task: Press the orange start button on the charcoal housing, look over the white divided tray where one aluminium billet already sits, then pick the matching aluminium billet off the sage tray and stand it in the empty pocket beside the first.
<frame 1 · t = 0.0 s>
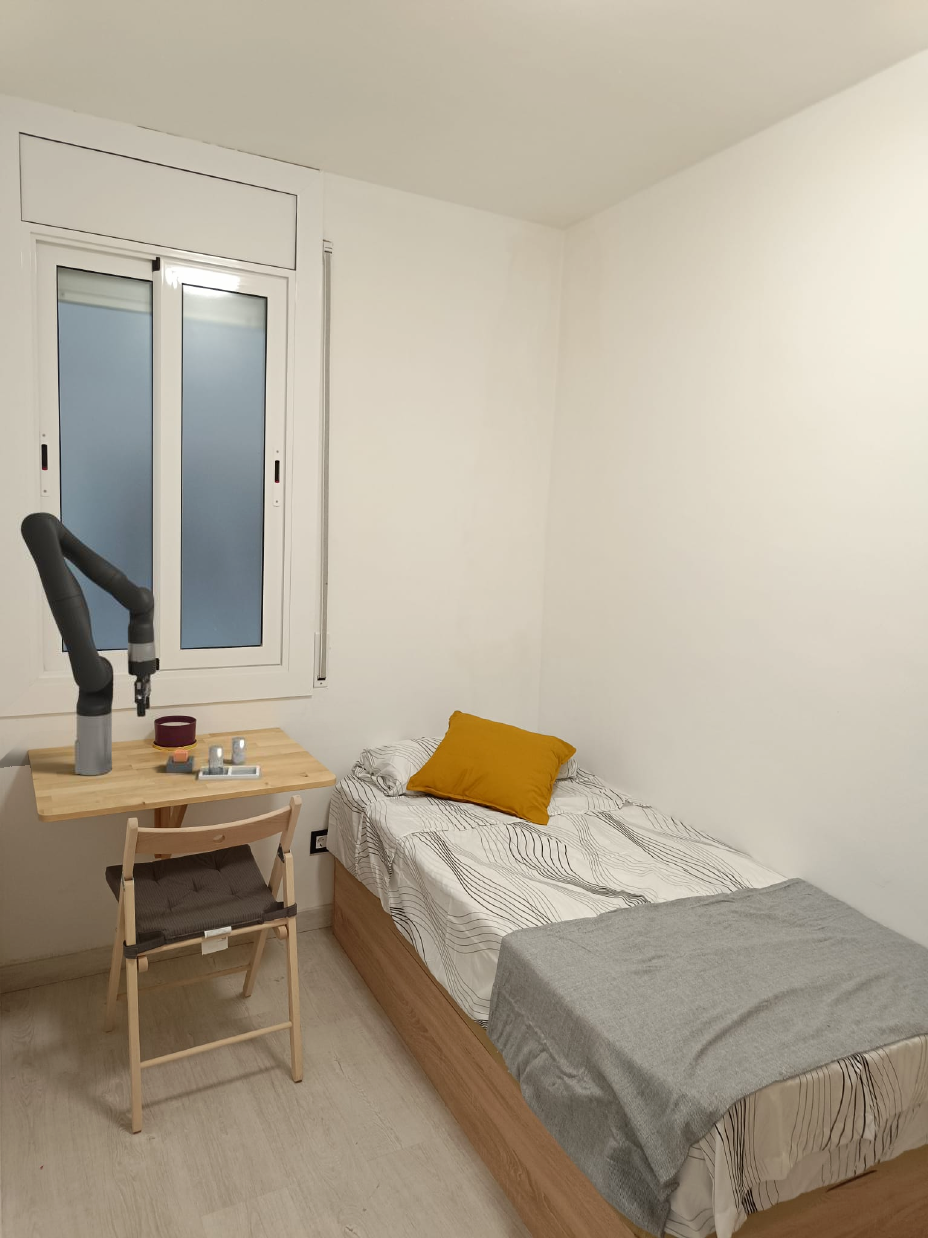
hand: (143, 712, 242), 17 cm above the table, fingers open, 8 cm apart
button housing: (180, 773, 243), on the table
white divided tray: (229, 778, 240), on the table
billet: (238, 764, 251), point 1 cm above the table, touching supply tray
start button: (180, 755, 242), point 5 cm above the table, slide at 0.0 cm
loaded billet: (215, 774, 239), point 1 cm above the table, touching white divided tray
supply tray: (238, 766, 251), on the table
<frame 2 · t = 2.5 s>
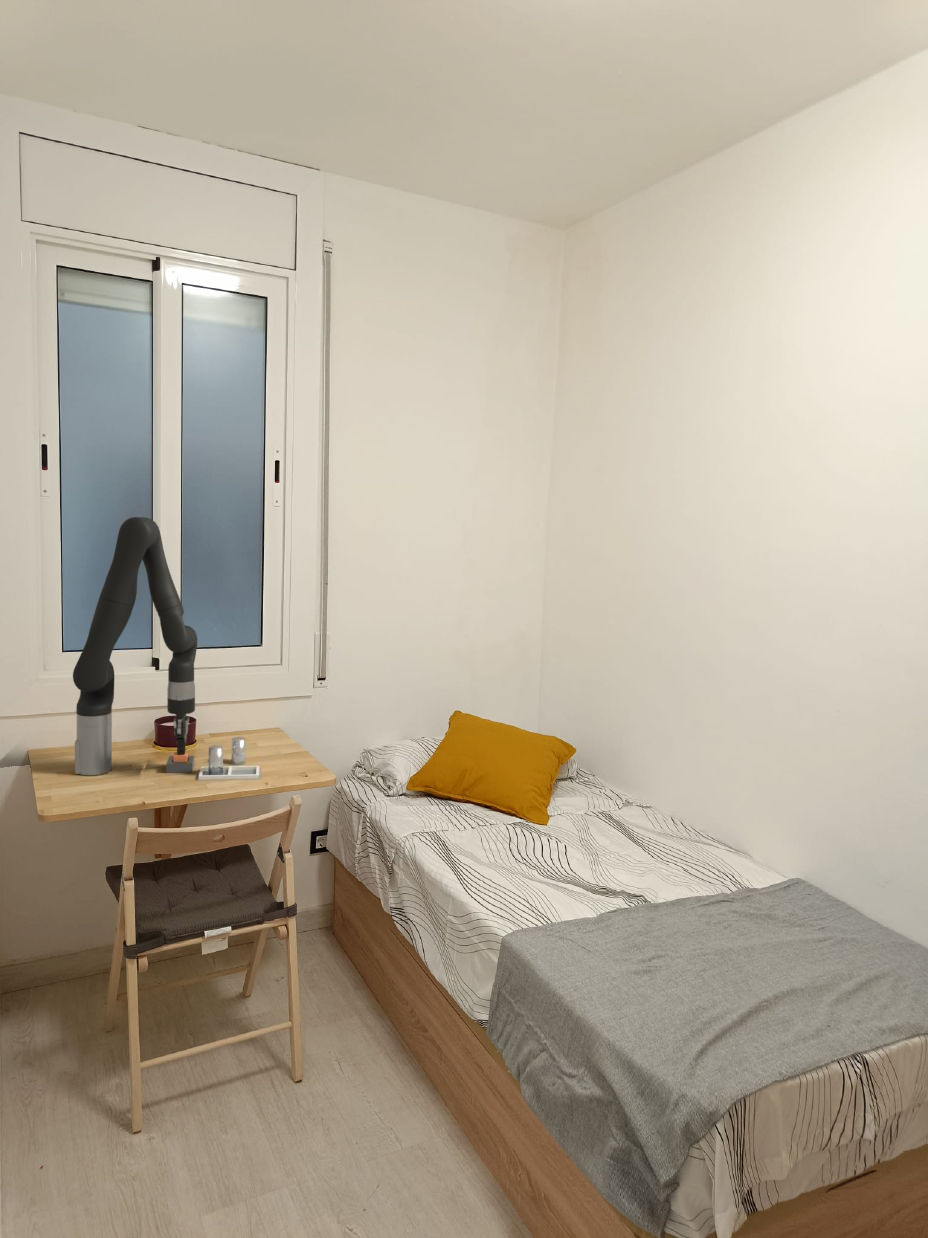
hand: (181, 754, 242), 6 cm above the table, fingers closed
start button: (180, 758, 242), point 4 cm above the table, slide at 0.9 cm, touching gripper
everything else where it was.
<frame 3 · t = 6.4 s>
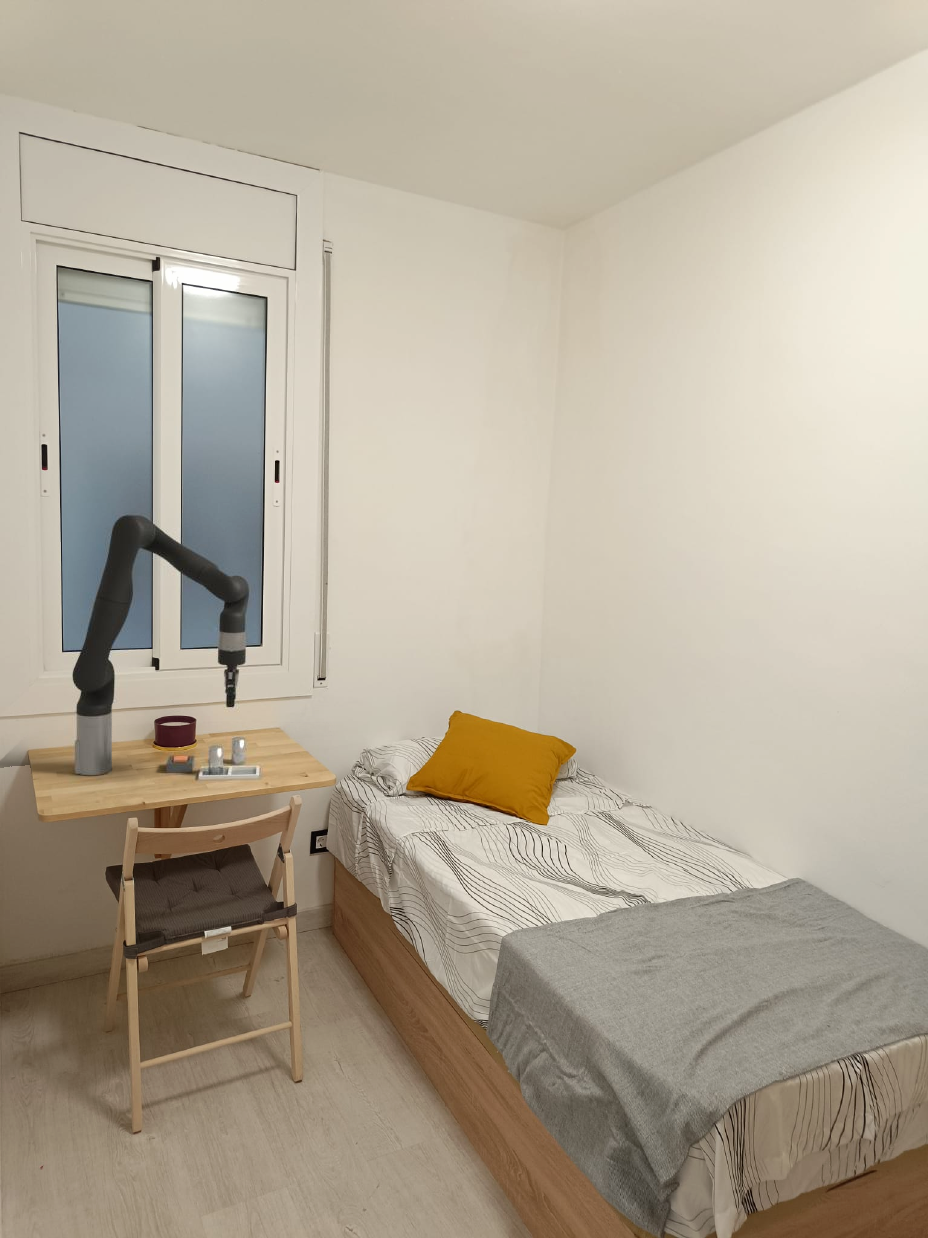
hand: (231, 703, 237), 22 cm above the table, fingers open, 8 cm apart
start button: (180, 762, 242), point 3 cm above the table, slide at 2.0 cm
everything else where it was.
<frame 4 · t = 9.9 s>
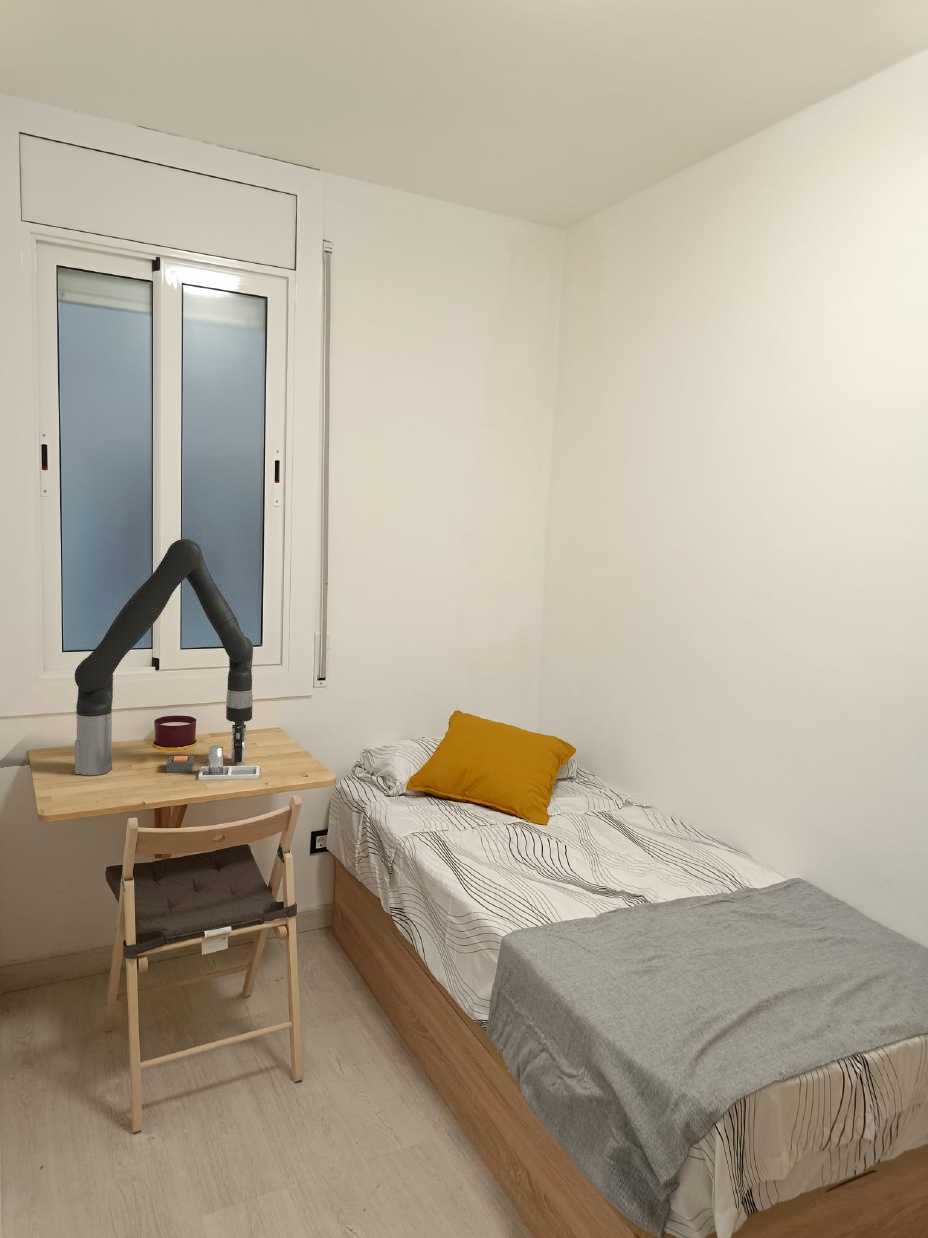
hand: (238, 759, 251), 2 cm above the table, fingers closed on billet, 4 cm apart
billet: (238, 764, 251), point 1 cm above the table, touching gripper, supply tray
everything else where it was.
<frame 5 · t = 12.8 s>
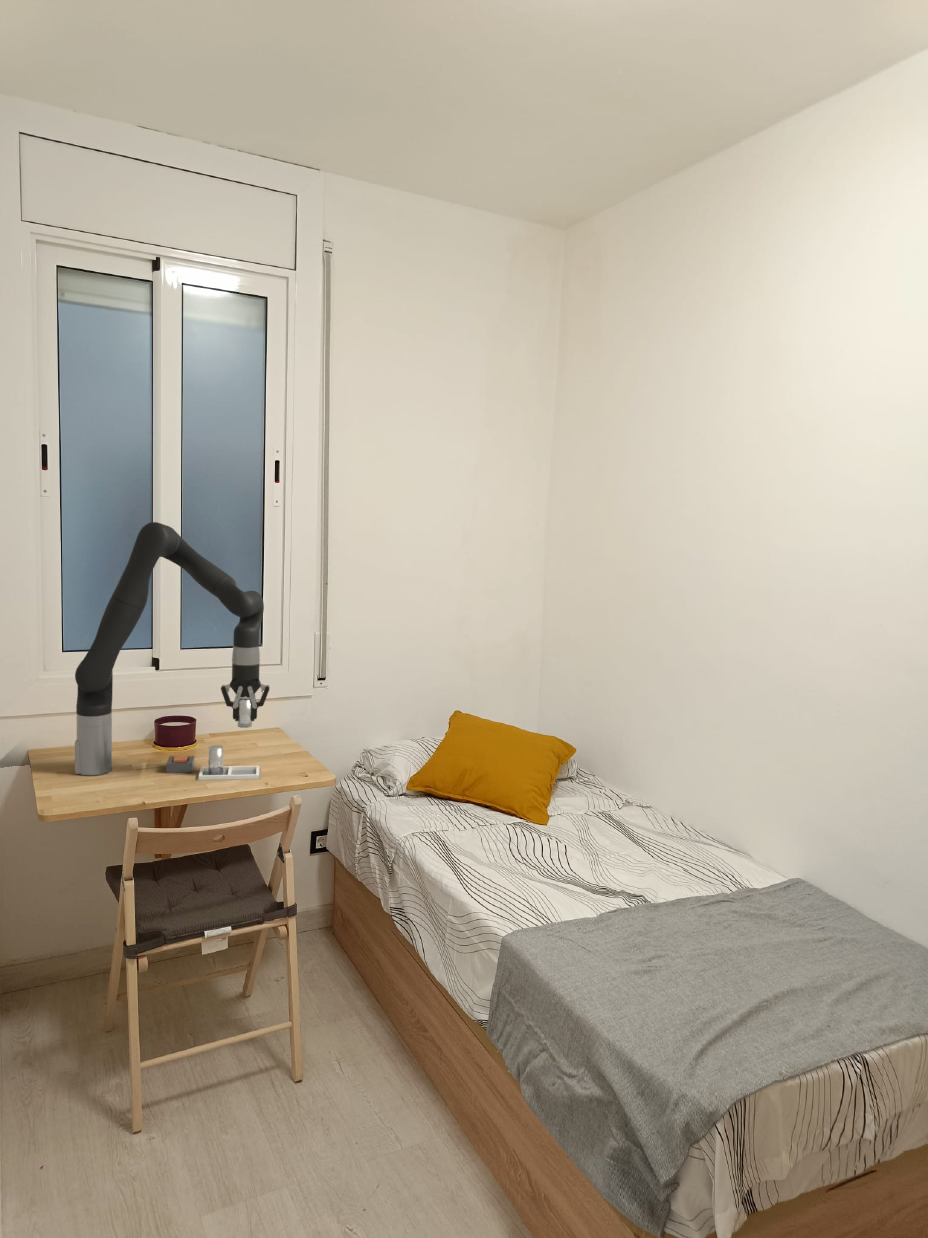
hand: (244, 720, 239), 17 cm above the table, fingers closed on billet, 4 cm apart
billet: (244, 726, 239), point 15 cm above the table, touching gripper
everything else where it was.
when the fingers open (4 cm above the table, at t = 15.6 s): billet stays where it is, resting on white divided tray.
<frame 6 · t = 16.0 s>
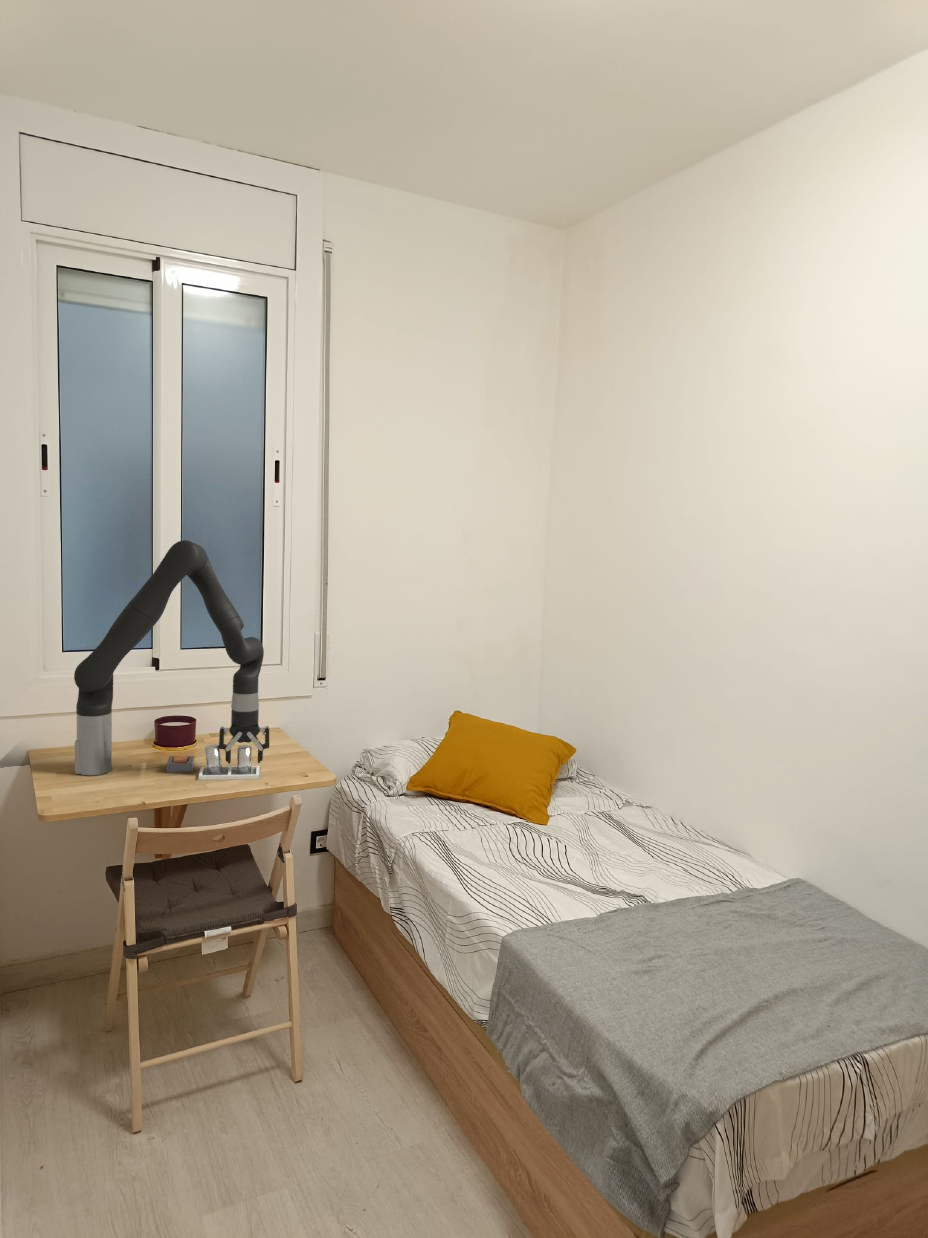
hand: (244, 762, 241), 5 cm above the table, fingers open, 8 cm apart
billet: (244, 774, 241), point 1 cm above the table, touching white divided tray
loaded billet: (215, 773, 239), point 1 cm above the table, tilted 8°, touching white divided tray
everything else where it was.
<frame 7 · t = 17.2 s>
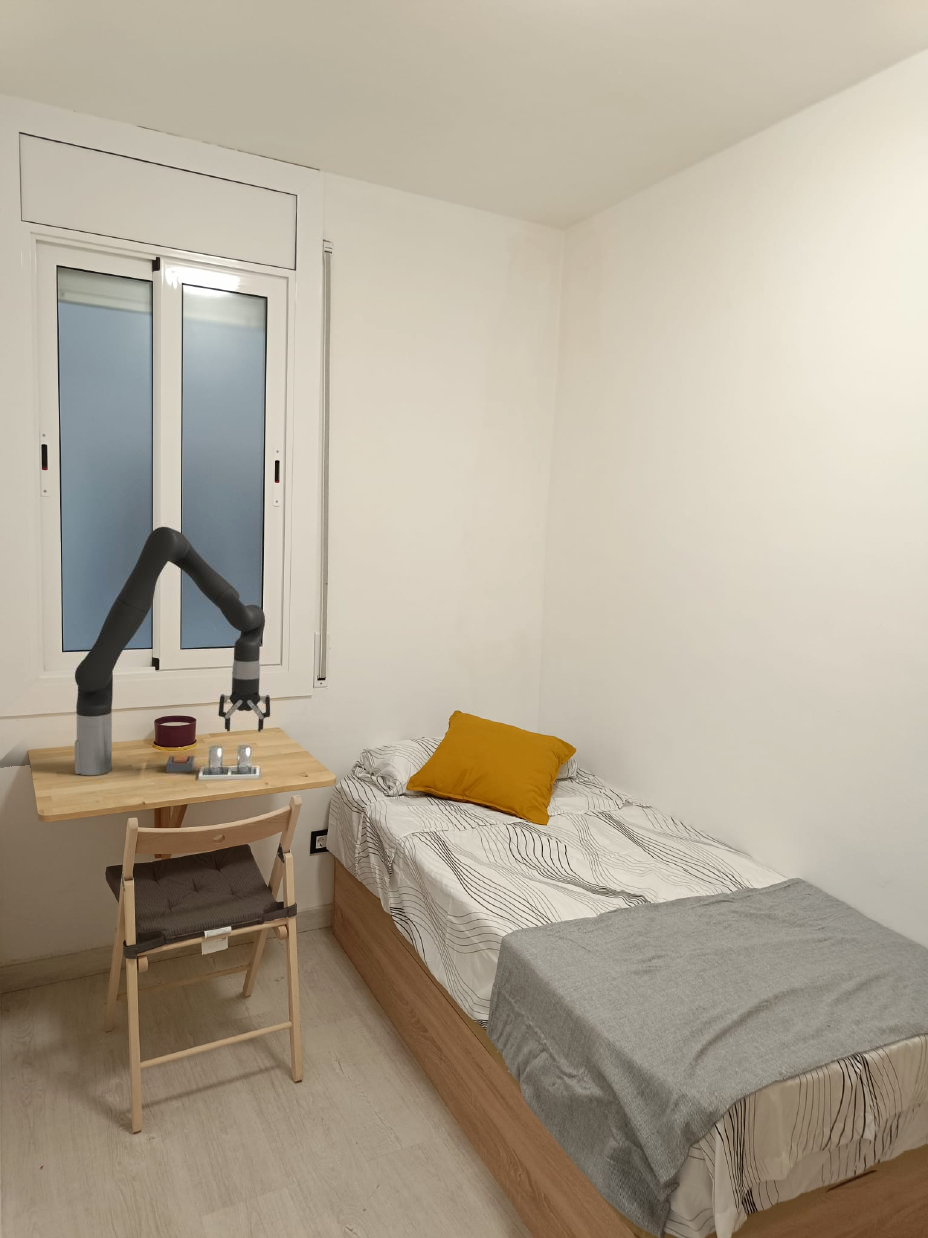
hand: (243, 731, 239), 14 cm above the table, fingers open, 8 cm apart
loaded billet: (215, 774, 239), point 1 cm above the table, touching white divided tray
everything else where it was.
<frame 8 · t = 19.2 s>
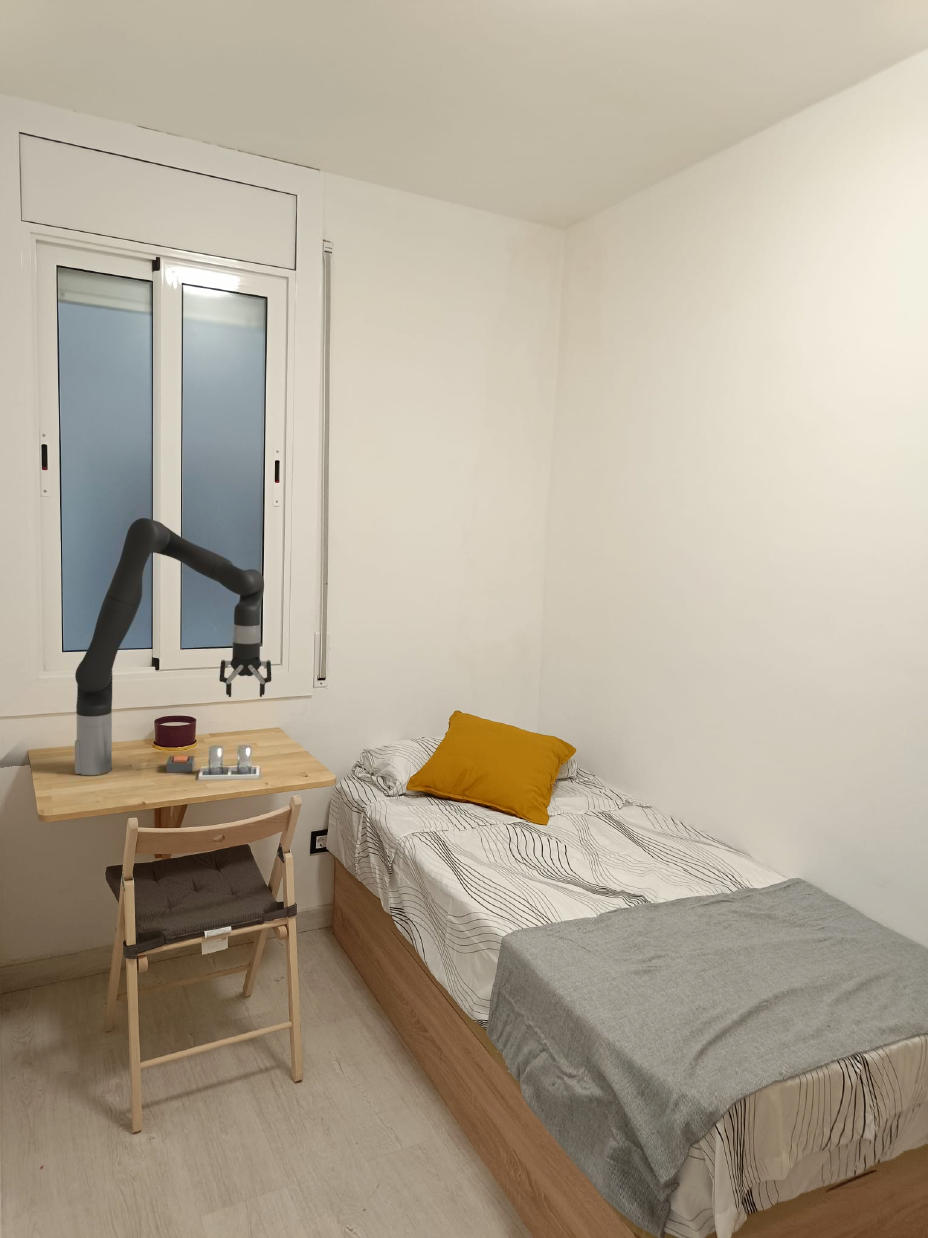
hand: (245, 696, 238), 24 cm above the table, fingers open, 8 cm apart
nothing on the table moved.
at the end: start button slide at 2.0 cm; billet 0.1 cm from the target spot on the white divided tray, point 1.2 cm above the white divided tray's base; billet tilted 0° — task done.
